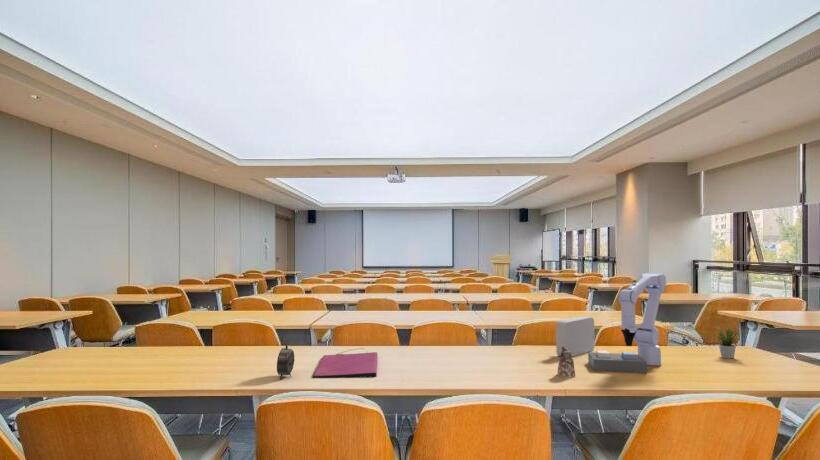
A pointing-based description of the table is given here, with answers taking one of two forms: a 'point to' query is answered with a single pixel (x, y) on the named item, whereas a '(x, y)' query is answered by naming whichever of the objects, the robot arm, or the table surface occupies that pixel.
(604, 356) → the ivory key
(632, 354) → the slate blue key
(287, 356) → the alarm clock
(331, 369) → the laptop bag
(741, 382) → the table surface
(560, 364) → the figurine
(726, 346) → the house plant
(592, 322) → the rounded white slab
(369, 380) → the table surface
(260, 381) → the table surface
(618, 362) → the key deck
